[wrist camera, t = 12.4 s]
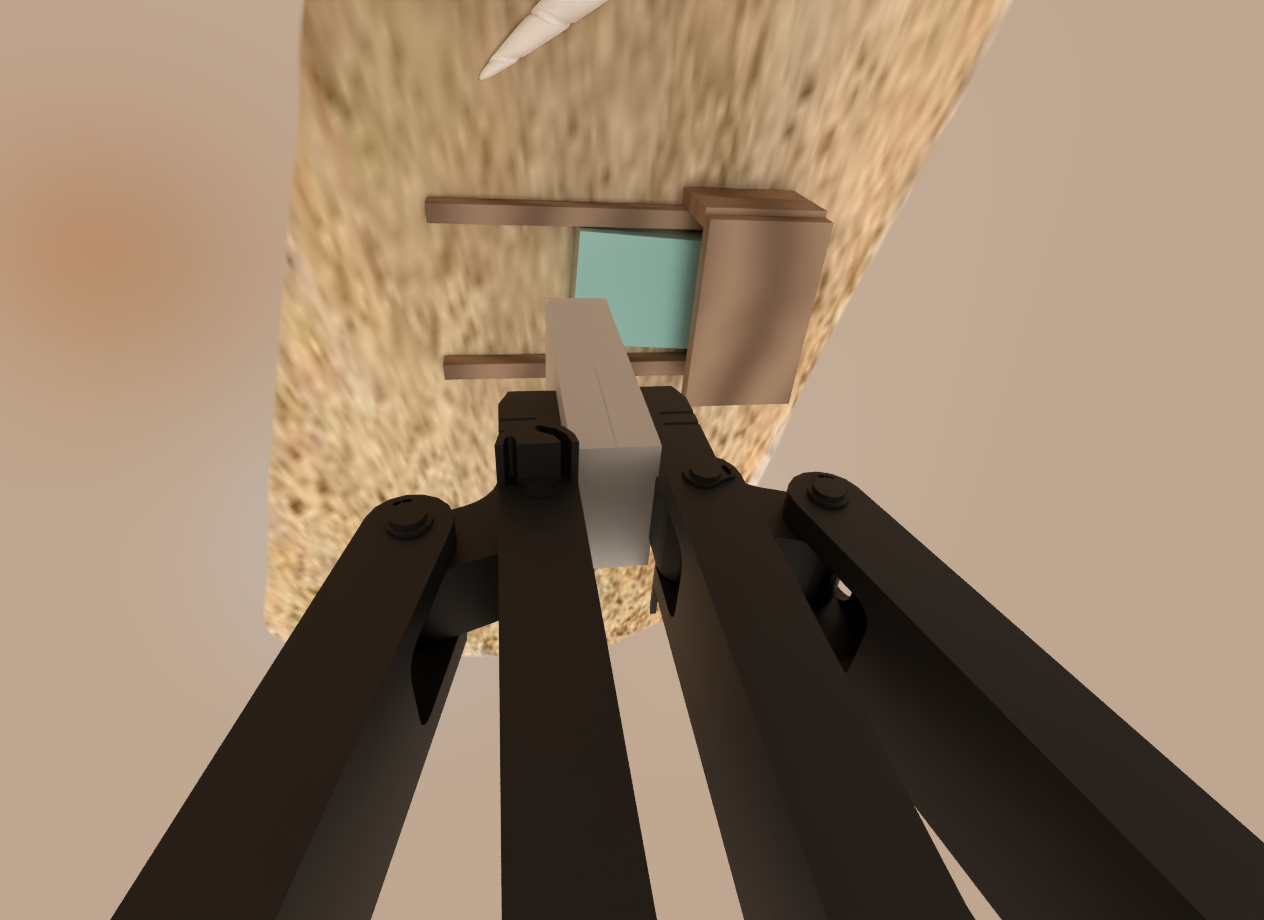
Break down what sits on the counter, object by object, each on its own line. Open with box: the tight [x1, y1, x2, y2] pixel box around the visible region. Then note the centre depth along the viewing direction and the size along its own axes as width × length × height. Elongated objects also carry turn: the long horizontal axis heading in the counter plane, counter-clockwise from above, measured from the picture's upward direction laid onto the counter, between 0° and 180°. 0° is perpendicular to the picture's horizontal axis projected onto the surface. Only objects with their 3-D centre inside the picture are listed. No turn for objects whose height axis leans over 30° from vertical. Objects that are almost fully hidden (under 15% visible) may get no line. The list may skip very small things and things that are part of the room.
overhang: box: [425, 187, 833, 406], centre depth 43 cm, size 25×14×7 cm, turn 86°
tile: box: [570, 227, 703, 349], centre depth 45 cm, size 12×8×3 cm, turn 82°
